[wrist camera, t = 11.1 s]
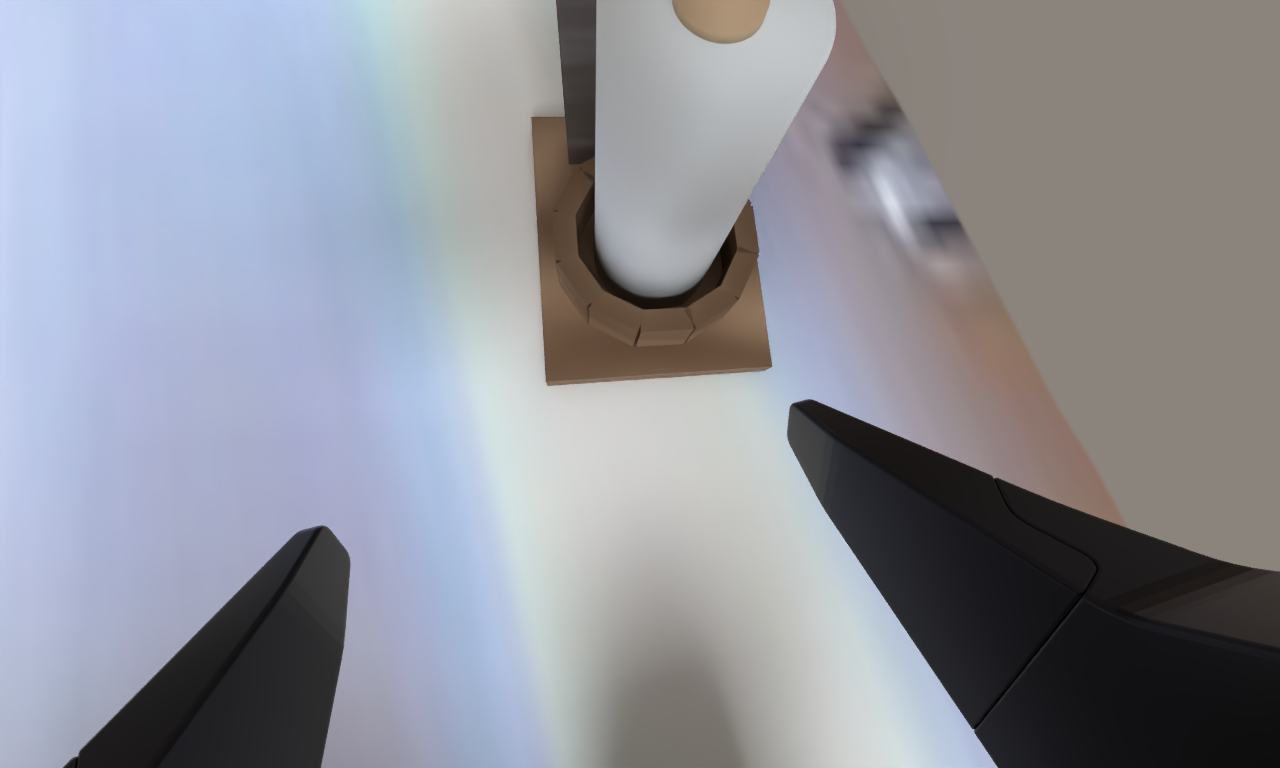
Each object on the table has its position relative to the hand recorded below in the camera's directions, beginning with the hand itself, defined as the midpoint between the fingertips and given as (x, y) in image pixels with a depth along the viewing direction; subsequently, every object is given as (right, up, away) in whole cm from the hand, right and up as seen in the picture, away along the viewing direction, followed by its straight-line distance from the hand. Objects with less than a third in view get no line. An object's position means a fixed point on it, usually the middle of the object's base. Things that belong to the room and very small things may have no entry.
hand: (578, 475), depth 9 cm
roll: (+2, +8, +14) cm, 17 cm away
